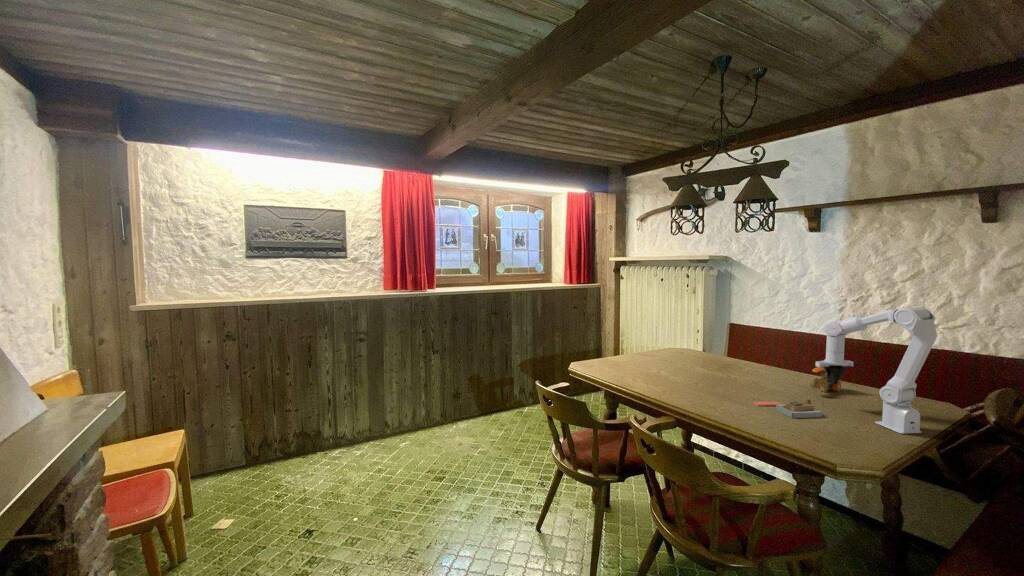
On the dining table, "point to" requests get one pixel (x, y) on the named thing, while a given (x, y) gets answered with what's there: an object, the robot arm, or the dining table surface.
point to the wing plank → (767, 403)
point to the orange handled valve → (823, 381)
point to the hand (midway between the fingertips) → (833, 383)
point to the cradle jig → (798, 414)
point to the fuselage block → (800, 406)
